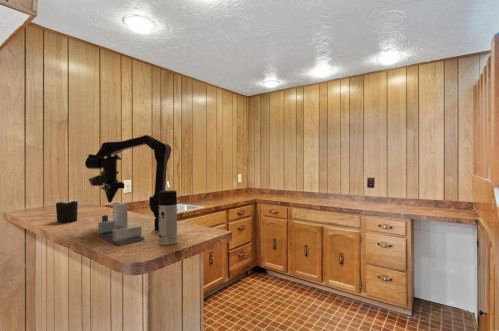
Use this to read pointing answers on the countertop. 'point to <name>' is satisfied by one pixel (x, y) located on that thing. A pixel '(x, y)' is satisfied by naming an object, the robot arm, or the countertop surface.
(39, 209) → the countertop surface
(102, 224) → the sliding jaw
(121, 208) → the steel block
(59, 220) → the pen holder
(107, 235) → the vise base
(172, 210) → the spray can
